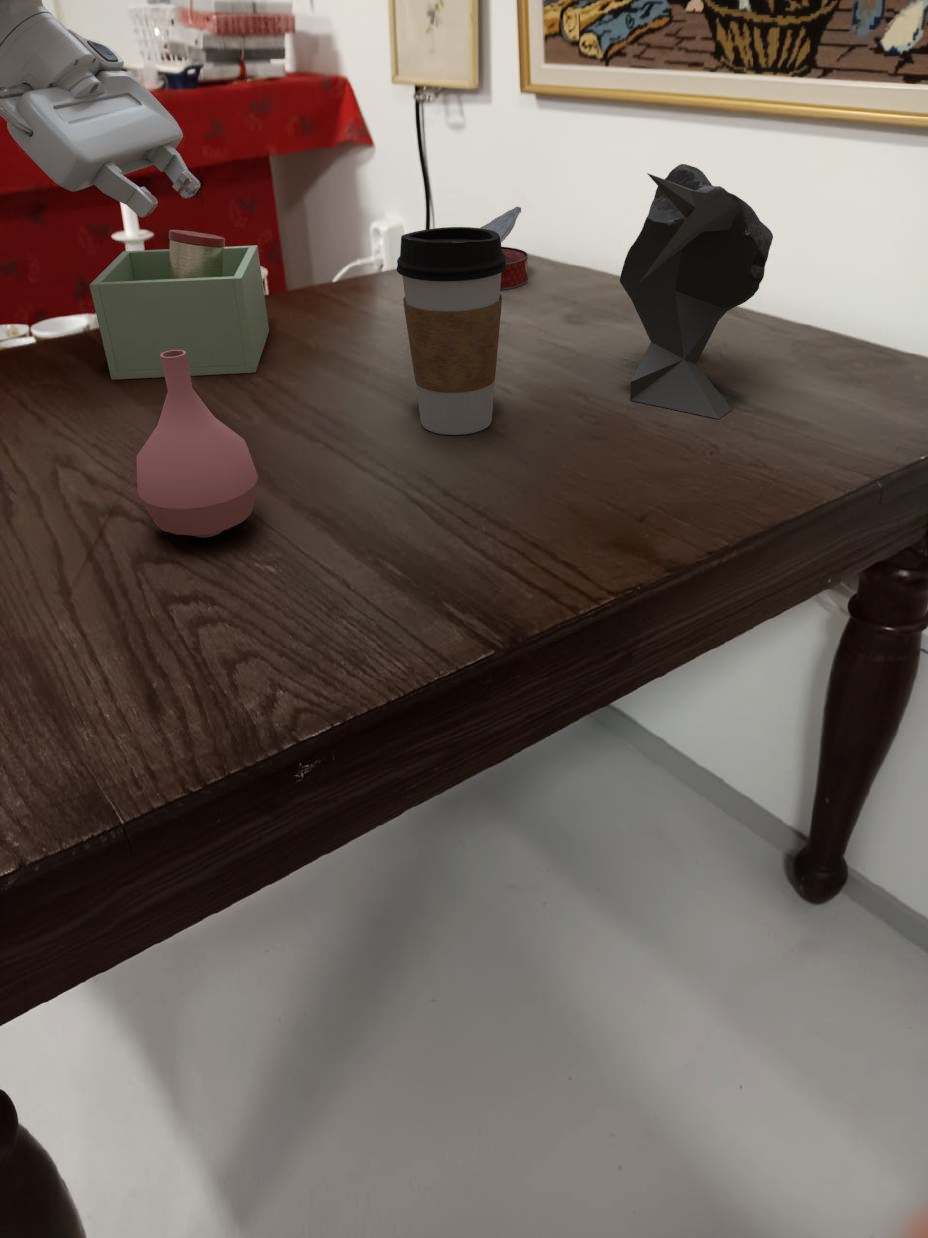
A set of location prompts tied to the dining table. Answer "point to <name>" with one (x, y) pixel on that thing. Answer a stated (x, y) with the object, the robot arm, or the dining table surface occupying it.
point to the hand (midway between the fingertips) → (173, 201)
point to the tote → (181, 314)
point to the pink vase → (193, 463)
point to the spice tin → (195, 255)
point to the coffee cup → (453, 323)
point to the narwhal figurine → (690, 284)
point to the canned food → (510, 251)
